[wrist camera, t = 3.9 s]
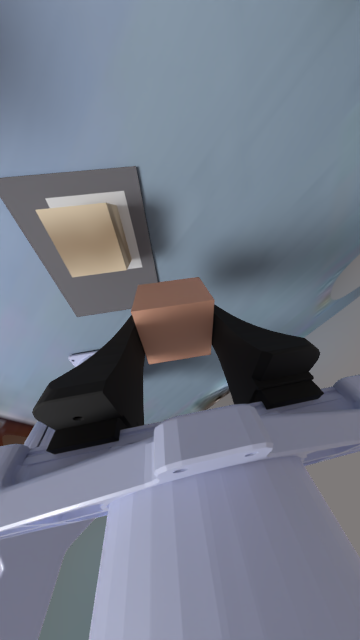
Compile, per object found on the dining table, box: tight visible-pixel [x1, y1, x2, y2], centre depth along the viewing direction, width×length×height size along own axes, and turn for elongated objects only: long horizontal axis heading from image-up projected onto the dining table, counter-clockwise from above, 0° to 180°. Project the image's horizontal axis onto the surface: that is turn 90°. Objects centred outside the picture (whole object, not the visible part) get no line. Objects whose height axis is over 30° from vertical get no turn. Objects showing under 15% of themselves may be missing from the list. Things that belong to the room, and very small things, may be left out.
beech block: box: [35, 203, 132, 277], centre depth 14 cm, size 5×5×4 cm
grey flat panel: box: [0, 166, 158, 317], centre depth 16 cm, size 14×12×1 cm
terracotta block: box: [131, 277, 214, 364], centre depth 12 cm, size 5×5×4 cm
